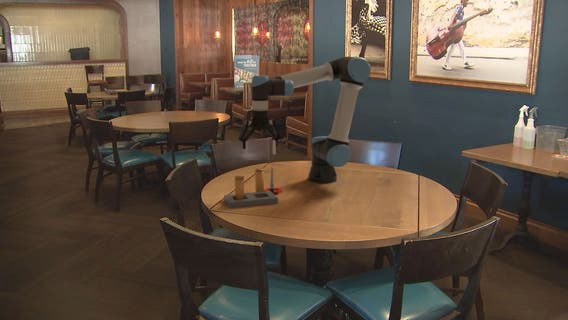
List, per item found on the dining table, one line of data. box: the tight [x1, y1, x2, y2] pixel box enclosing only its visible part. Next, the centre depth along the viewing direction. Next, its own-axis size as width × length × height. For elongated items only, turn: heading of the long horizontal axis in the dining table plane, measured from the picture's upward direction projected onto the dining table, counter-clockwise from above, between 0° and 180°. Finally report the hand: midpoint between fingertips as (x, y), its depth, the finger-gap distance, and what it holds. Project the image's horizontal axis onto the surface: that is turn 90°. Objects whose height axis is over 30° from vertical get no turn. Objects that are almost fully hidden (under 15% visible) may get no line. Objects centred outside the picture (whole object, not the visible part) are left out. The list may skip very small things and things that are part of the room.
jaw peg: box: [254, 167, 265, 192], centre depth 232 cm, size 4×4×12 cm
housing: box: [223, 191, 279, 209], centre depth 220 cm, size 22×12×2 cm, turn 108°
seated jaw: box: [234, 175, 245, 200], centre depth 218 cm, size 4×4×12 cm
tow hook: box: [264, 167, 283, 195], centre depth 236 cm, size 8×13×9 cm
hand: (260, 154), depth 229 cm, fingers open, 13 cm apart
